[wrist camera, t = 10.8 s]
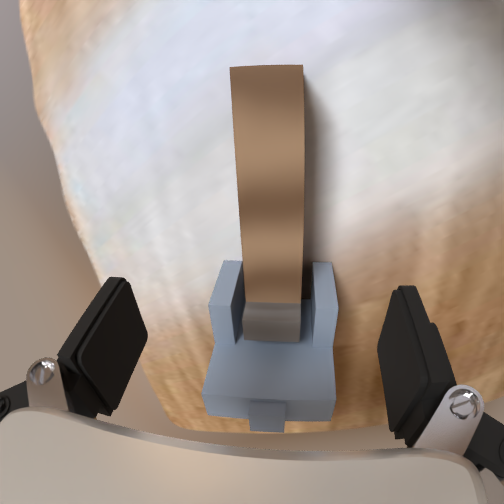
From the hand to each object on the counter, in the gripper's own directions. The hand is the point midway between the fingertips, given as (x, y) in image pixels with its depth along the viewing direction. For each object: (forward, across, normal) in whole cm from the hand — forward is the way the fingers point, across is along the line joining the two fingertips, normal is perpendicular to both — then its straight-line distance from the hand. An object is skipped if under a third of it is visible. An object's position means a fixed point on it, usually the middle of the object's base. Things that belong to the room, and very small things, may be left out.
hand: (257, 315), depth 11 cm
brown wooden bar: (+15, 0, 0) cm, 15 cm away
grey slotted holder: (+15, 0, +10) cm, 18 cm away
